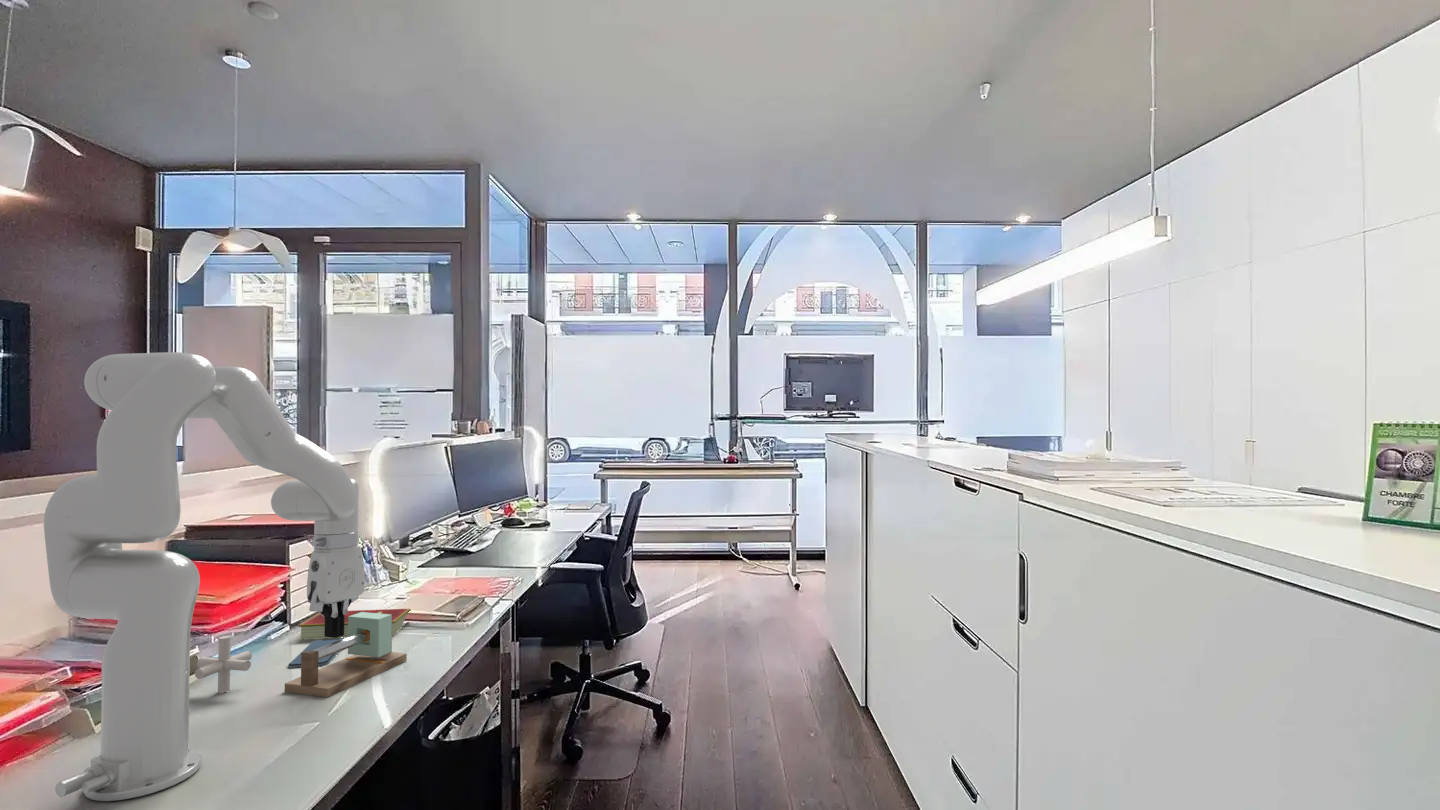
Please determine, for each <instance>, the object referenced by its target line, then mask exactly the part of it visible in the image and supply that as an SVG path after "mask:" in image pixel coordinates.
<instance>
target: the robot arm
mask: <svg viewBox="0 0 1440 810" xmlns="http://www.w3.org/2000/svg"><path fill="white" fill-rule="evenodd" d="M83 381H84V382H83V384H84V388H85V392H86V394H87V395H88V396H89V398H90V399H91V401H93V402H94V403H95V404H96V405H98V406H99V407H101V408H103V409H106V410H109V411H110V412H109V413H108V414H107V416H106V418H105V419H104V421H103V422H102V424H101V427H100V429H99V431H98V436H97V439H96V474H91V475H81V476H78V477H75V478H72V479H70V480H67V481H66V482H65V483H63V484H61V485H60V486H59V487H58V488H57V489H56V490H55V491H54V493H52V495H51V497H50V498H49V500H48V503H47V505H46V507H45V510H44V516H43V533H44V541H45V552H46V553H45V554H46V562H47V569H48V578H49V586H50V587H49V588H50V591H51V595H52V598H53V600H54V602H55V605H56V606H57V607H58V608H59V609H60V611H62V612H64V613H65V614H67V615H69V616H70V617H71V616H72V617H75V618H83V619H96V620H114V621H117V623H116V626H115V628H114V631H113V632H112V633H111V635H110V637H109V638H108V641H107V643H106V646H105V647H104V651H103V653H102V660H101V706H100V707H101V711H100V713H101V714H100V719H101V720H100V751H99V752H100V753H99V755H97V756H95V757H93V758H91V759H90V766H89V767H87V768H85V769H84V770H83V772H82V773H80V774H77V775H73V776H71V777H68V778H66V779H63V780H61V781H59V782H57V783H56V784H55V787H54V789H55V795H57V797H59V798H63V797H65V796H68V795H70V794H72V793H75V792H78V791H79V790H81V791H82V792H83V793H84V796H85V797H86V798H87V799H89V800H92V801H97V802H114V801H116V802H117V801H122V800H128V799H129V800H130V799H134V798H138V797H142V796H147V795H150V794H153V793H156V792H160V791H162V790H163V791H164V790H165V789H168V788H170V787H172V786H175V785H177V784H179V783H181V782H183V781H185V780H186V779H188V778H190V777H191V776H192V775H194V774H195V773H196V772H197V771H198V770H199V769H200V768H201V766H202V755H201V753H200V752H198V751H196V750H193V749H189V737H190V735H189V731H190V729H189V728H190V726H189V725H190V724H189V723H190V675H191V674H190V670H191V669H190V668H191V667H190V666H191V663H190V661H191V660H190V657H191V656H190V655H191V654H190V652H191V631H192V623H193V622H192V621H193V615H194V611H195V606H196V603H197V599H198V595H199V589H200V584H201V577H200V572H199V569H198V567H197V565H196V564H195V563H194V561H192V560H191V559H190V558H189V557H187V556H185V555H183V554H181V553H178V552H174V551H170V550H169V551H168V550H155V549H154V550H153V549H151V550H150V549H131V550H129V549H123V544H145V543H146V544H147V543H153V542H157V541H161V540H163V539H166V538H167V537H169V536H170V535H172V534H173V533H174V532H175V530H176V529H177V527H178V526H179V523H180V518H181V497H180V484H179V473H178V461H177V441H178V436H179V433H180V430H181V428H182V427H183V425H184V424H185V422H186V421H187V420H188V419H211V420H213V421H215V423H216V424H217V425H218V426H219V428H220V429H222V431H223V432H224V434H225V435H226V437H227V438H228V439H229V441H231V442H230V443H232V445H233V446H234V447H235V448H236V450H237V452H238V453H239V454H240V455H241V457H242V458H243V459H244V460H246V461H247V462H249V463H251V464H253V465H256V466H258V467H261V468H263V469H265V470H268V471H269V470H270V471H271V472H275V473H279V474H282V475H285V476H288V477H291V478H293V479H296V480H291V481H286V482H284V483H282V484H280V485H279V486H278V487H277V488H275V490H274V492H273V493H272V495H271V498H270V505H271V509H272V511H273V512H274V514H275V515H276V516H278V517H279V518H280V519H284V520H287V521H294V522H295V521H297V522H298V521H299V522H311V521H314V526H313V527H314V530H313V532H314V533H313V534H314V535H313V539H312V540H311V543H310V544H311V546H312V547H313V550H312V551H311V555H310V559H309V563H308V571H307V578H306V600H307V602H308V603H310V605H309V608H308V609H309V610H308V611H310V612H317V613H321V614H322V616H323V617H325V633H324V635H325V637H331V638H337V639H338V637H339V636H343V635H344V617H345V614H347V612H348V611H349V607H350V605H351V604H352V603H354V602H356V601H357V600H358V599H360V596H361V595H363V594H364V592H365V587H366V585H365V583H366V582H365V581H366V579H365V564H364V555H363V552H362V547H361V545H358V543H359V542H358V539H359V498H360V497H359V495H360V494H359V493H360V491H359V490H360V489H359V482H358V481H357V480H356V479H354V478H351V477H350V475H349V474H348V472H347V470H346V469H345V468H344V466H343V465H342V463H341V462H340V461H339V460H338V459H337V458H335V457H334V456H333V455H332V454H330V453H329V452H328V451H326V450H324V448H321V447H320V446H319V445H317V444H316V443H314V442H312V441H311V440H309V439H308V438H306V437H304V436H302V435H300V434H299V433H297V432H296V431H295V430H293V428H292V427H291V425H290V423H289V422H288V420H287V419H286V418H285V416H284V415H283V413H282V411H281V410H280V409H279V407H278V405H277V404H276V403H275V400H274V399H273V398H272V397H271V395H270V393H269V392H268V390H267V389H266V388H265V386H264V384H263V383H262V382H261V380H260V379H259V377H258V376H257V375H256V374H255V373H254V372H252V371H251V370H249V369H247V368H243V367H240V366H227V365H225V366H224V365H223V366H222V365H221V366H220V365H219V366H213V364H212V362H211V361H209V360H208V359H207V358H204V356H201V355H198V354H193V353H190V352H189V353H188V352H174V351H173V352H171V351H170V352H169V351H168V352H167V351H166V352H165V351H164V352H145V353H143V352H142V353H141V352H140V353H136V352H135V353H134V352H133V353H116V354H109V355H106V356H102V357H100V358H99V359H97V360H95V361H94V362H93V363H91V365H90V366H89V367H88V368H87V370H86V372H85V375H84V380H83Z"/></svg>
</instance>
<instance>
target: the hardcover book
mask: <svg viewBox="0 0 1440 810" xmlns="http://www.w3.org/2000/svg"><path fill="white" fill-rule="evenodd" d="M409 611H412V610H411V608H387V609H362V610H361V609H359V610H357V609H356V610H348V612H347V614H345V617H344V635H343V636H339V637H338V638H341V637H343V638H344V637H348V616H351V615H354V614H357V613H360V612H368V613H379V614H391V615H392V635H394V634H395V633H396V632H397V631H398V630H399V629H400V628H401V626H402V624H403V622H404V620H405V617H406V615H407V613H408V612H409ZM297 626H298V628H300V640H301V639H313V640H323V639H324V638H331V637H325V635H324V633H325V617H323V616H322V614H321V613H320V612H317V614H315V615H313V616H311V617H310V618H308V619H306V620H305V621H303V622H301V623H300V624H298V625H297ZM398 632H399V631H398ZM398 632H397V633H398ZM397 633H396V634H397ZM396 634H395V635H396ZM395 635H394V636H395ZM338 638H337V639H338Z"/></svg>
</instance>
